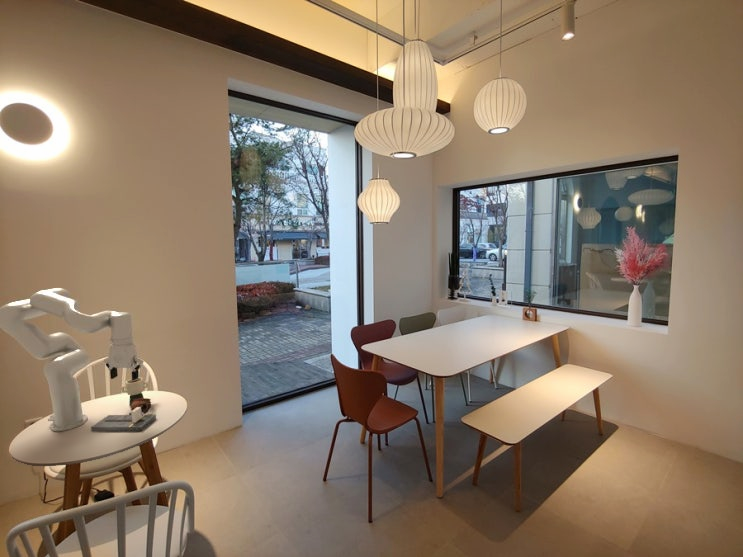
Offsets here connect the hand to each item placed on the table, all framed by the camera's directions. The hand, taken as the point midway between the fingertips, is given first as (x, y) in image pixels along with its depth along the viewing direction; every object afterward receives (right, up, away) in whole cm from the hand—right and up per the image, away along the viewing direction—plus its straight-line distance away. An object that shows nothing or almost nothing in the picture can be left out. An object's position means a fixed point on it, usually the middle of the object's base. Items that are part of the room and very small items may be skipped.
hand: (124, 378), depth 156 cm
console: (-1, -21, +1) cm, 21 cm away
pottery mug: (+1, -20, +11) cm, 23 cm away
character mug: (-7, -19, +19) cm, 28 cm away
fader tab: (+5, -18, 0) cm, 19 cm away
